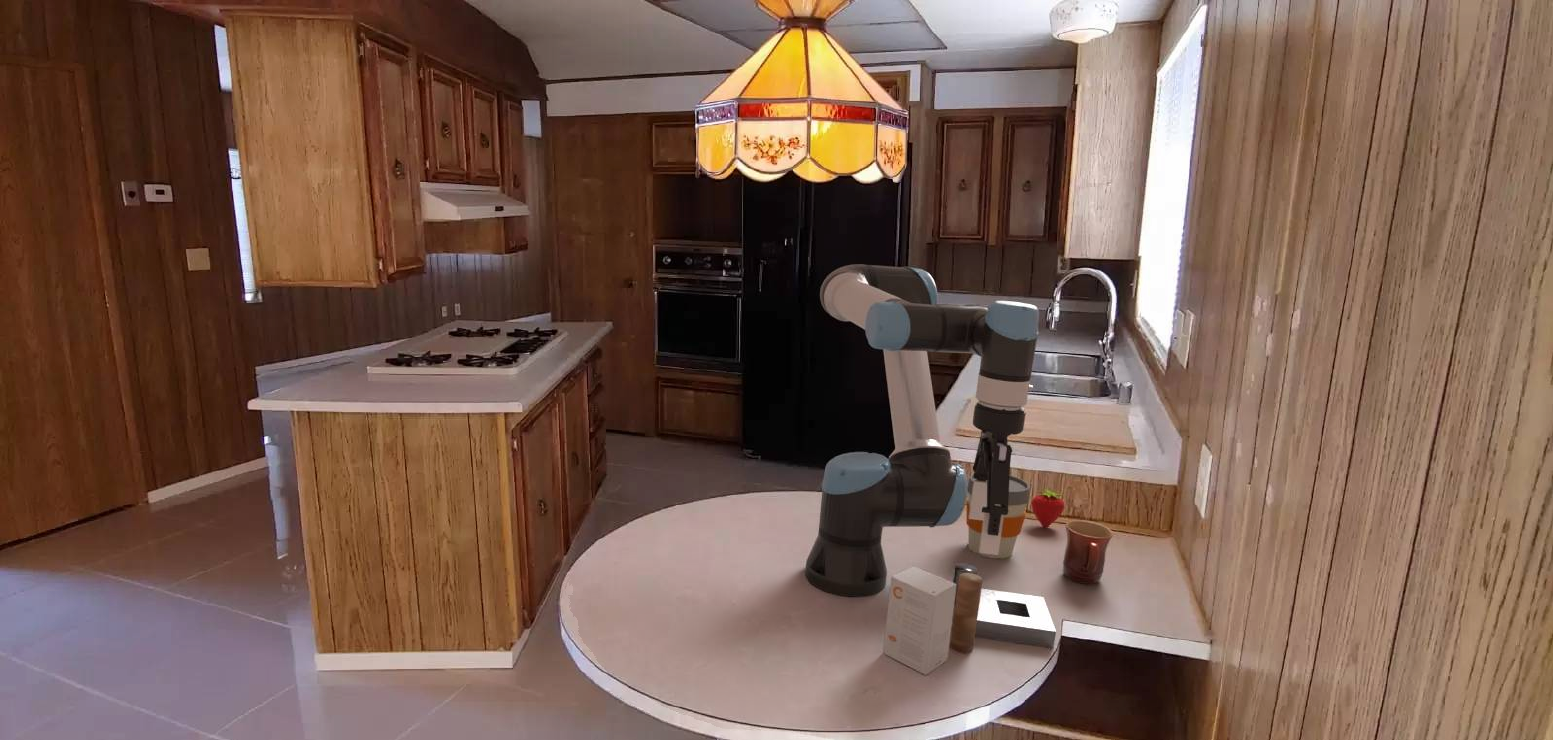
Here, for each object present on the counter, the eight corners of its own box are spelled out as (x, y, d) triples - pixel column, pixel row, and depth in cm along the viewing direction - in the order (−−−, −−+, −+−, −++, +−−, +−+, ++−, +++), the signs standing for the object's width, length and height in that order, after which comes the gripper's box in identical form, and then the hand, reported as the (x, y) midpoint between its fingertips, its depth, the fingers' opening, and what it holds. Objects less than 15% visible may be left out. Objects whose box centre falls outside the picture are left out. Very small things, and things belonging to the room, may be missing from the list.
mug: (1055, 564, 162) (1062, 517, 160) (1100, 571, 161) (1108, 524, 159) (1063, 591, 151) (1072, 540, 149) (1112, 598, 149) (1121, 547, 147)
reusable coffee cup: (1025, 566, 161) (1035, 495, 158) (961, 557, 162) (971, 487, 159) (1016, 541, 173) (1026, 475, 170) (957, 533, 174) (966, 468, 172)
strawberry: (1023, 521, 185) (1029, 480, 183) (1053, 522, 186) (1059, 481, 184) (1035, 532, 179) (1042, 490, 177) (1066, 532, 180) (1073, 490, 178)
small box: (947, 661, 124) (958, 583, 121) (925, 676, 119) (935, 596, 116) (904, 639, 129) (913, 564, 126) (881, 653, 124) (890, 576, 122)
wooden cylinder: (950, 651, 126) (960, 581, 124) (949, 639, 130) (958, 571, 128) (973, 655, 126) (983, 584, 124) (972, 643, 129) (981, 574, 127)
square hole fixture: (950, 633, 132) (957, 583, 130) (946, 599, 144) (952, 553, 142) (1053, 648, 130) (1061, 597, 128) (1040, 612, 142) (1048, 565, 140)
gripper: (1042, 428, 108) (1021, 572, 113) (1012, 389, 133) (995, 509, 137) (986, 422, 109) (967, 566, 113) (966, 384, 133) (951, 504, 138)
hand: (982, 535), depth 125 cm, fingers open, 13 cm apart
